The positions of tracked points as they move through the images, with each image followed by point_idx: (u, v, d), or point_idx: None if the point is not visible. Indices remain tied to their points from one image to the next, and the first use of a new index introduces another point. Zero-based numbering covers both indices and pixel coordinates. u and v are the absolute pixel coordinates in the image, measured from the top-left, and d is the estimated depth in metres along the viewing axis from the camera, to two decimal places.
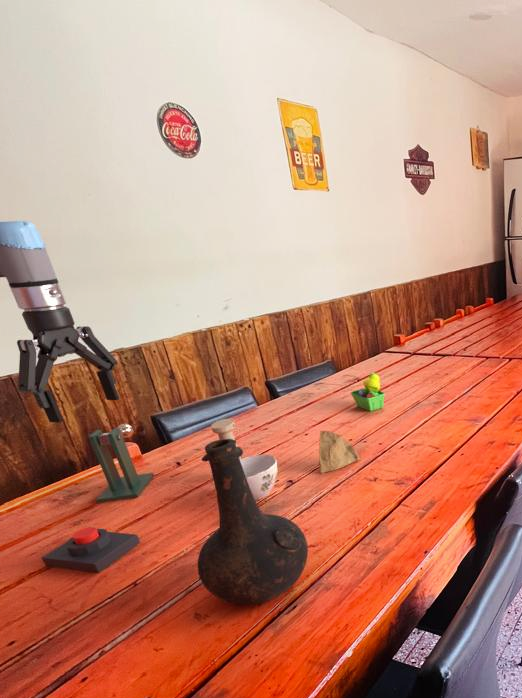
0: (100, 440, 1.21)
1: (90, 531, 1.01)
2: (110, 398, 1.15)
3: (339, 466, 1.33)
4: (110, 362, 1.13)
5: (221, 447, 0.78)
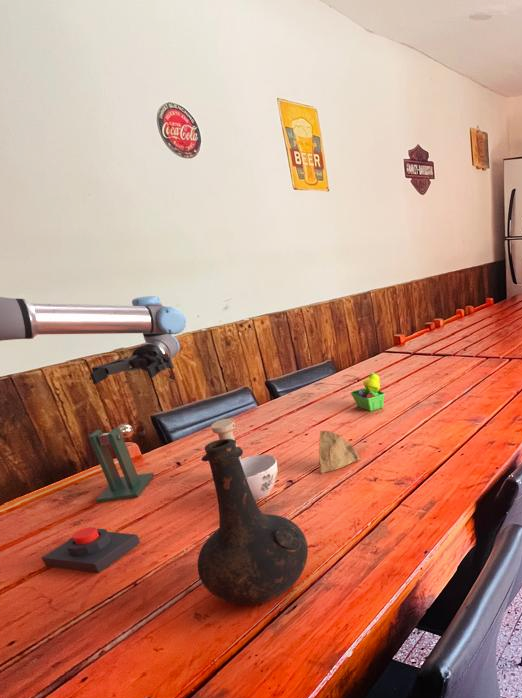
0: (100, 440, 1.21)
1: (90, 531, 1.01)
2: (95, 377, 1.34)
3: (339, 466, 1.33)
4: None
5: (221, 447, 0.78)
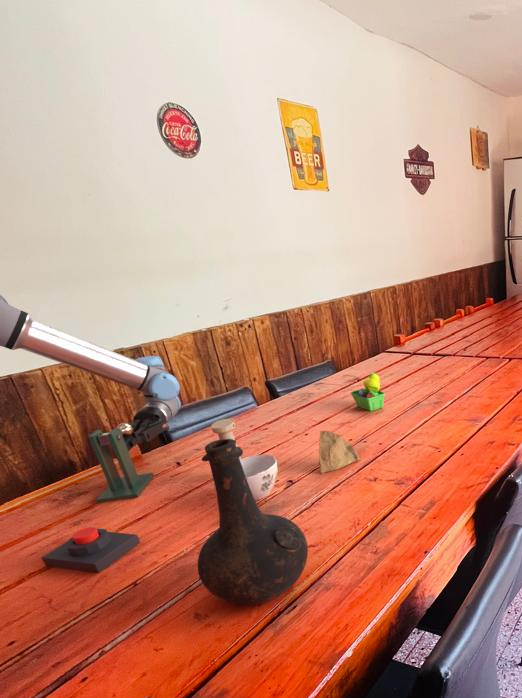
0: (100, 440, 1.21)
1: (90, 531, 1.01)
2: None
3: (339, 466, 1.33)
4: None
5: (221, 447, 0.78)
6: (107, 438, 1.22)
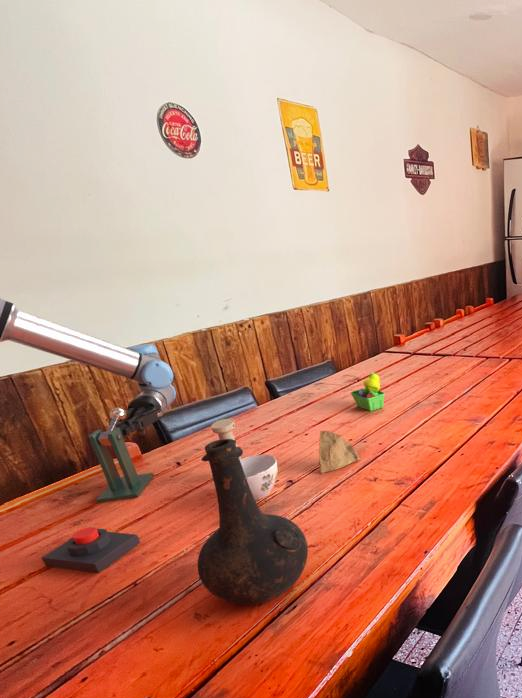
0: (101, 442, 1.22)
1: (90, 531, 1.01)
2: None
3: (339, 466, 1.33)
4: None
5: (221, 447, 0.78)
6: (108, 440, 1.22)
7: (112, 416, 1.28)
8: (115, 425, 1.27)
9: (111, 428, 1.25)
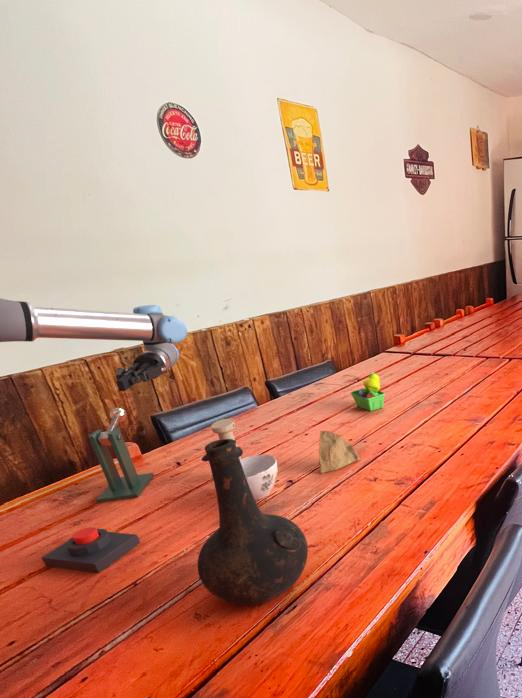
0: (101, 442, 1.22)
1: (90, 531, 1.01)
2: (121, 384, 1.34)
3: (339, 466, 1.33)
4: None
5: (221, 447, 0.78)
6: (108, 440, 1.22)
7: (112, 416, 1.28)
8: (115, 425, 1.27)
9: (111, 428, 1.25)
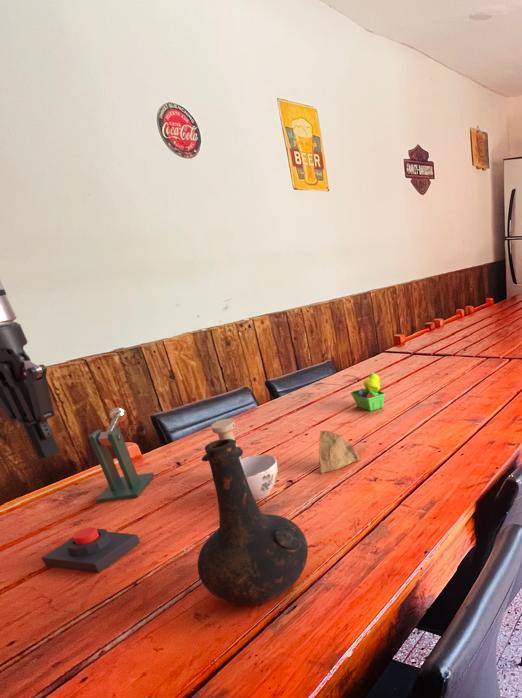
0: (101, 442, 1.22)
1: (90, 531, 1.01)
2: None
3: (339, 466, 1.33)
4: None
5: (221, 447, 0.78)
6: (108, 440, 1.22)
7: (112, 416, 1.28)
8: (115, 425, 1.27)
9: (111, 428, 1.25)
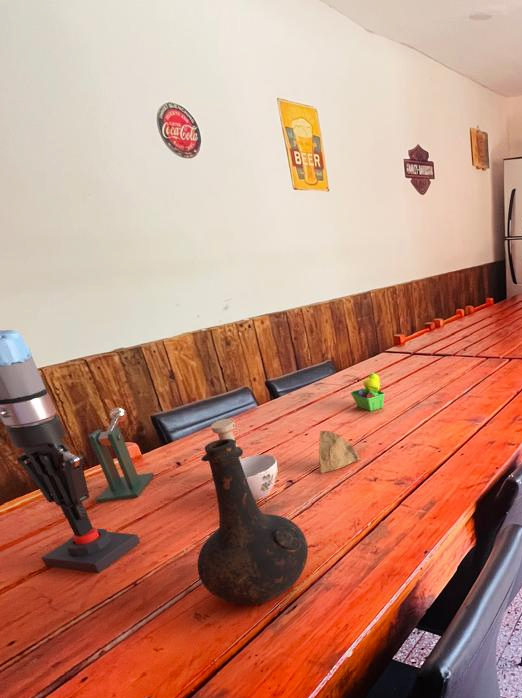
0: (101, 442, 1.22)
1: (90, 531, 1.01)
2: None
3: (339, 466, 1.33)
4: None
5: (221, 447, 0.78)
6: (108, 440, 1.22)
7: (112, 416, 1.28)
8: (115, 425, 1.27)
9: (111, 428, 1.25)
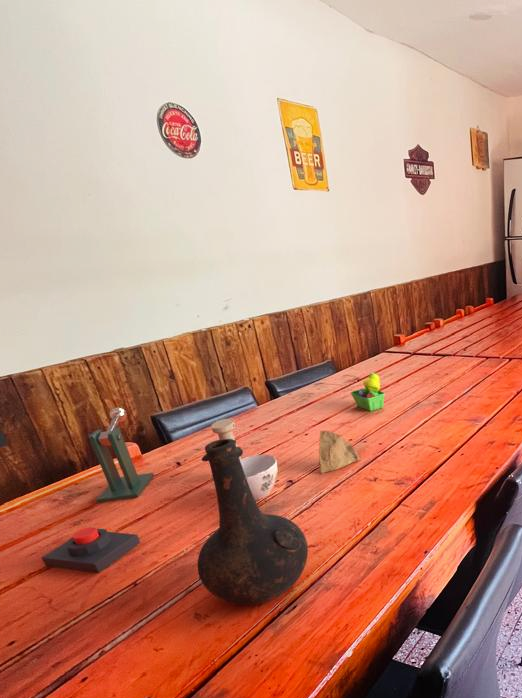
0: (101, 442, 1.22)
1: (90, 531, 1.01)
2: None
3: (339, 466, 1.33)
4: None
5: (221, 447, 0.78)
6: (108, 440, 1.22)
7: (112, 416, 1.28)
8: (115, 425, 1.27)
9: (111, 428, 1.25)
